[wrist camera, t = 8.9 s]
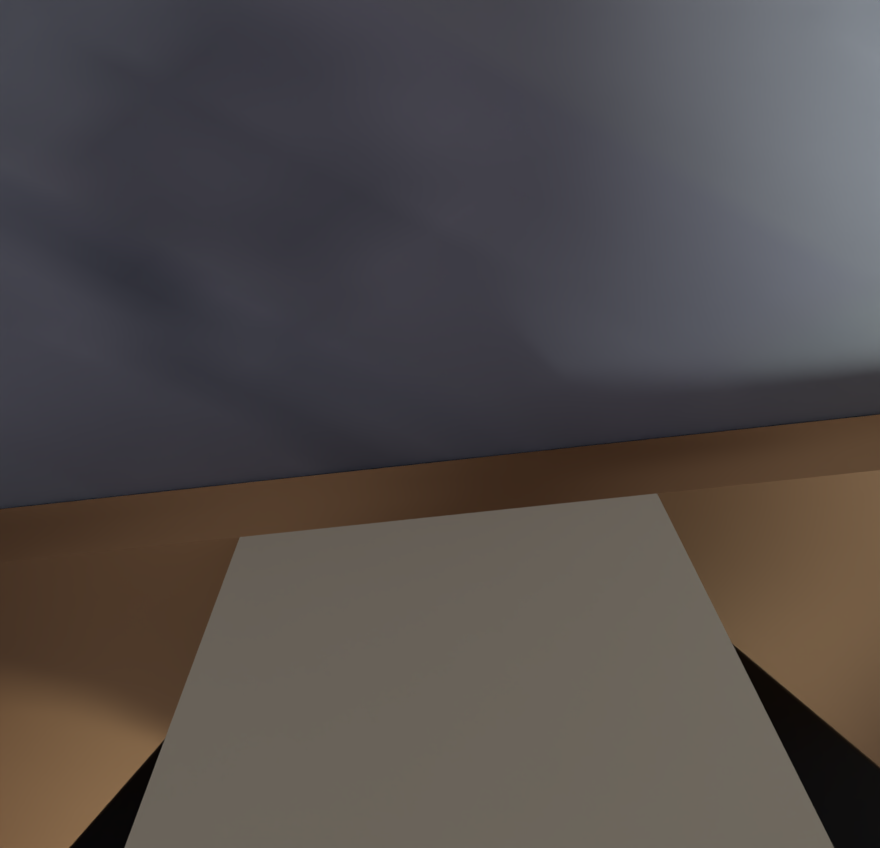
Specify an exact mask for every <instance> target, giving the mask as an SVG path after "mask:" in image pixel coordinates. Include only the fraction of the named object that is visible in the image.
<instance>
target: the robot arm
mask: <svg viewBox="0 0 880 848" xmlns="http://www.w3.org/2000/svg"><path fill="white" fill-rule="evenodd" d="M733 646H734V648H735V650H736V652H737V654H738V656H739V658H740V660H741V662H742V664H743V666H744V668H745V670H746V672H747V674H748V676H749V678H750V680H751V682H752V684H753V686H754V688H755V690H756V692H757V694H758V696H759V698H760V700H761V702H762V704H763V706H764V708H765V710H766V712H767V714H768V716H769V718H770V720H771V722H772V724H773V727H774V729H775V731H776V733H777V735H778V737H779V739H780V741H781V743H782V745H783V747H784V749H785V751H786V753H787V755H788V757H789V759H790V761H791V763H792V765H793V767H794V769H795V771H796V773H797V775H798V777H799V779H800V781H801V783H802V785H803V787H804V789H805V791H806V793H807V795H808V797H809V799H810V801H811V803H812V805H813V807H814V809H815V811H816V813H817V815H818V817H819V819H820V821H821V823H822V825H823V827H824V829H825V831H826V833H827V835H828V837H829V839H830V841H831V843H832V845H833V847H834V848H880V767H879V766H878V765H877V764H876V763H874V762H873V761H872V760H871V759H870V758H868V757H867V756H866V755H865V754H864V753H862V752H861V751H860V750H859V749H858V748H857V747H855V746H854V745H853V744H852V743H851V742H849V741H848V740H847V739H846V738H845V737H843V736H842V735H841V734H840V733H839V732H837V731H836V730H835V729H834V728H833V727H831V726H830V725H829V724H828V723H827V722H825V721H824V720H823V719H822V718H821V717H820V716H818V715H817V714H816V713H815V712H814V711H812V710H811V709H810V708H809V707H808V706H806V705H805V704H804V703H803V702H802V701H800V700H799V699H798V698H797V697H796V696H794V695H793V694H792V693H791V692H790V691H789V690H787V689H786V688H785V687H784V686H783V685H781V684H780V683H779V682H778V681H777V680H775V679H774V678H773V677H772V676H771V675H769V674H768V673H767V672H766V671H765V670H763V669H762V668H761V667H760V666H759V665H757V664H756V663H755V662H754V661H753V660H752V659H750V658H749V657H748V656H747V655H746V654H744V653H743V652H742V651H741V650H740V649H738V648H737V647H736V646H735V645H734V644H733ZM164 740H165V739H164ZM164 740H163V741H162V743H161V744H160V745H159V746H158V747H157V748H156V749H155V751H154V752H153V753H152V754H151V755H150V756H149V757H148V758H147V760H146V761H145V762H144V763H143V764H142V765H141V766H140V768H139V769H138V770H137V771H136V772H135V773H134V774H133V776H132V777H131V778H130V779H129V780H128V781H127V782H126V784H125V785H124V786H123V787H122V788H121V789H120V790H119V792H118V793H117V794H116V795H115V796H114V797H113V798H112V800H111V801H110V802H109V803H108V804H107V805H106V806H105V807H104V809H103V810H102V811H101V812H100V813H99V814H98V815H97V817H96V818H95V819H94V820H93V821H92V822H91V823H90V825H89V826H88V827H87V828H86V829H85V830H84V831H83V833H82V834H81V835H80V836H79V837H78V838H77V839H76V841H75V842H74V843H73V844H72V845H71V846H70V847H69V848H125V845H126V842H127V840H128V837H129V834H130V832H131V829H132V826H133V824H134V821H135V818H136V816H137V813H138V810H139V807H140V805H141V802H142V799H143V797H144V794H145V791H146V789H147V786H148V783H149V780H150V778H151V775H152V772H153V770H154V767H155V764H156V762H157V759H158V756H159V753H160V751H161V748H162V745H163V743H164Z"/></svg>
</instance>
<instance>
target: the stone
mask: <svg viewBox="0 0 880 848" xmlns="http://www.w3.org/2000/svg"><path fill="white" fill-rule="evenodd" d="M125 848H834V847H833V845H832V843H831V841H830V839H829V837H828V835H827V833H826V831H825V829H824V827H823V825H822V823H821V821H820V819H819V817H818V815H817V813H816V811H815V809H814V807H813V805H812V803H811V801H810V799H809V797H808V795H807V793H806V791H805V789H804V787H803V785H802V783H801V781H800V779H799V777H798V775H797V773H796V771H795V769H794V767H793V765H792V763H791V761H790V759H789V757H788V755H787V753H786V751H785V749H784V747H783V745H782V743H781V741H780V739H779V737H778V735H777V733H776V731H775V729H774V727H773V724H772V722H771V720H770V718H769V716H768V714H767V712H766V710H765V708H764V706H763V704H762V702H761V700H760V698H759V696H758V694H757V692H756V690H755V688H754V686H753V684H752V682H751V680H750V678H749V676H748V674H747V672H746V670H745V668H744V666H743V664H742V662H741V660H740V658H739V656H738V654H737V652H736V650H735V648H734V646H733V644H732V642H731V640H730V638H729V636H728V634H727V632H726V630H725V628H724V626H723V624H722V622H721V620H720V618H719V616H718V614H717V612H716V610H715V608H714V606H713V604H712V602H711V600H710V598H709V596H708V594H707V592H706V590H705V588H704V586H703V584H702V582H701V580H700V578H699V576H698V574H697V572H696V570H695V568H694V566H693V564H692V562H691V560H690V558H689V556H688V554H687V552H686V550H685V548H684V546H683V544H682V542H681V540H680V538H679V536H678V534H677V532H676V530H675V528H674V526H673V524H672V522H671V520H670V518H669V516H668V514H667V512H666V510H665V508H664V506H663V504H662V502H661V500H660V498H659V496H658V494H647V495H638V496H628V497H619V498H609V499H599V500H590V501H580V502H571V503H561V504H552V505H542V506H533V507H523V508H513V509H504V510H494V511H485V512H475V513H466V514H456V515H446V516H437V517H427V518H418V519H408V520H399V521H389V522H380V523H370V524H360V525H351V526H341V527H332V528H322V529H313V530H303V531H294V532H284V533H274V534H265V535H255V536H246V537H240V538H239V540H238V543H237V546H236V549H235V551H234V554H233V557H232V559H231V562H230V565H229V567H228V570H227V573H226V575H225V578H224V581H223V584H222V586H221V589H220V592H219V594H218V597H217V600H216V602H215V605H214V608H213V611H212V613H211V616H210V619H209V621H208V624H207V627H206V629H205V632H204V635H203V638H202V640H201V643H200V646H199V648H198V651H197V654H196V656H195V659H194V662H193V664H192V667H191V670H190V673H189V675H188V678H187V681H186V683H185V686H184V689H183V691H182V694H181V697H180V700H179V702H178V705H177V708H176V710H175V713H174V716H173V718H172V721H171V724H170V727H169V729H168V732H167V735H166V737H165V740H164V743H163V745H162V748H161V751H160V753H159V756H158V759H157V762H156V764H155V767H154V770H153V772H152V775H151V778H150V780H149V783H148V786H147V789H146V791H145V794H144V797H143V799H142V802H141V805H140V807H139V810H138V813H137V816H136V818H135V821H134V824H133V826H132V829H131V832H130V834H129V837H128V840H127V842H126V845H125Z"/></svg>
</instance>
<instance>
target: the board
mask: <svg viewBox="0 0 880 848" xmlns="http://www.w3.org/2000/svg"><path fill="white" fill-rule="evenodd" d="M647 494H658V496H659V498H660V500H661V502H662V504H663V506H664V508H665V510H666V512H667V514H668V516H669V518H670V520H671V522H672V524H673V526H674V528H675V530H676V532H677V534H678V536H679V538H680V540H681V542H682V544H683V546H684V548H685V550H686V552H687V554H688V556H689V558H690V560H691V562H692V564H693V566H694V568H695V570H696V572H697V574H698V576H699V578H700V580H701V582H702V584H703V586H704V588H705V590H706V592H707V594H708V596H709V598H710V600H711V602H712V604H713V606H714V608H715V610H716V612H717V614H718V616H719V618H720V620H721V622H722V624H723V626H724V628H725V630H726V632H727V634H728V636H729V638H730V640H731V642H732V644H734V645H735V646H736V647H737V648H738V649H740V650H741V651H742V652H743V653H744V654H746V655H747V656H748V657H749V658H750V659H752V660H753V661H754V662H755V663H756V664H757V665H759V666H760V667H761V668H762V669H763V670H765V671H766V672H767V673H768V674H769V675H771V676H772V677H773V678H774V679H775V680H777V681H778V682H779V683H780V684H781V685H783V686H784V687H785V688H786V689H787V690H789V691H790V692H791V693H792V694H793V695H794V696H796V697H797V698H798V699H799V700H800V701H802V702H803V703H804V704H805V705H806V706H808V707H809V708H810V709H811V710H812V711H814V712H815V713H816V714H817V715H818V716H820V717H821V718H822V719H823V720H824V721H825V722H827V723H828V724H829V725H830V726H831V727H833V728H834V729H835V730H836V731H837V732H839V733H840V734H841V735H842V736H843V737H845V738H846V739H847V740H848V741H849V742H851V743H852V744H853V745H854V746H855V747H857V748H858V749H859V750H860V751H861V752H862V753H864V754H865V755H866V756H867V757H868V758H870V759H871V760H872V761H873V762H874V763H876V764H877V765H878V766H879V767H880V415H871V416H861V417H852V418H843V419H833V420H824V421H815V422H806V423H796V424H787V425H778V426H768V427H759V428H750V429H740V430H731V431H722V432H713V433H703V434H694V435H685V436H675V437H666V438H657V439H648V440H638V441H629V442H620V443H610V444H601V445H592V446H582V447H573V448H564V449H555V450H545V451H536V452H527V453H517V454H508V455H499V456H490V457H480V458H471V459H462V460H452V461H443V462H434V463H425V464H415V465H406V466H397V467H387V468H378V469H369V470H359V471H350V472H341V473H332V474H322V475H313V476H304V477H294V478H285V479H276V480H267V481H257V482H248V483H239V484H229V485H220V486H211V487H202V488H192V489H183V490H174V491H164V492H155V493H146V494H136V495H127V496H118V497H109V498H99V499H90V500H81V501H71V502H62V503H53V504H44V505H34V506H25V507H16V508H6V509H0V848H69V847H70V846H71V845H72V844H73V843H74V842H75V841H76V839H77V838H78V837H79V836H80V835H81V834H82V833H83V831H84V830H85V829H86V828H87V827H88V826H89V825H90V823H91V822H92V821H93V820H94V819H95V818H96V817H97V815H98V814H99V813H100V812H101V811H102V810H103V809H104V807H105V806H106V805H107V804H108V803H109V802H110V801H111V800H112V798H113V797H114V796H115V795H116V794H117V793H118V792H119V790H120V789H121V788H122V787H123V786H124V785H125V784H126V782H127V781H128V780H129V779H130V778H131V777H132V776H133V774H134V773H135V772H136V771H137V770H138V769H139V768H140V766H141V765H142V764H143V763H144V762H145V761H146V760H147V758H148V757H149V756H150V755H151V754H152V753H153V752H154V751H155V749H156V748H157V747H158V746H159V745H160V744H161V743H162V741H163V740H164V739H165V737H166V735H167V732H168V729H169V727H170V724H171V721H172V718H173V716H174V713H175V710H176V708H177V705H178V702H179V700H180V697H181V694H182V691H183V689H184V686H185V683H186V681H187V678H188V675H189V673H190V670H191V667H192V664H193V662H194V659H195V656H196V654H197V651H198V648H199V646H200V643H201V640H202V638H203V635H204V632H205V629H206V627H207V624H208V621H209V619H210V616H211V613H212V611H213V608H214V605H215V602H216V600H217V597H218V594H219V592H220V589H221V586H222V584H223V581H224V578H225V575H226V573H227V570H228V567H229V565H230V562H231V559H232V557H233V554H234V551H235V549H236V546H237V543H238V540H239V538H240V537H246V536H255V535H265V534H274V533H284V532H294V531H303V530H313V529H322V528H332V527H341V526H351V525H360V524H370V523H380V522H389V521H399V520H408V519H418V518H427V517H437V516H446V515H456V514H466V513H475V512H485V511H494V510H504V509H513V508H523V507H533V506H542V505H552V504H561V503H571V502H580V501H590V500H599V499H609V498H619V497H628V496H638V495H647Z"/></svg>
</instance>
